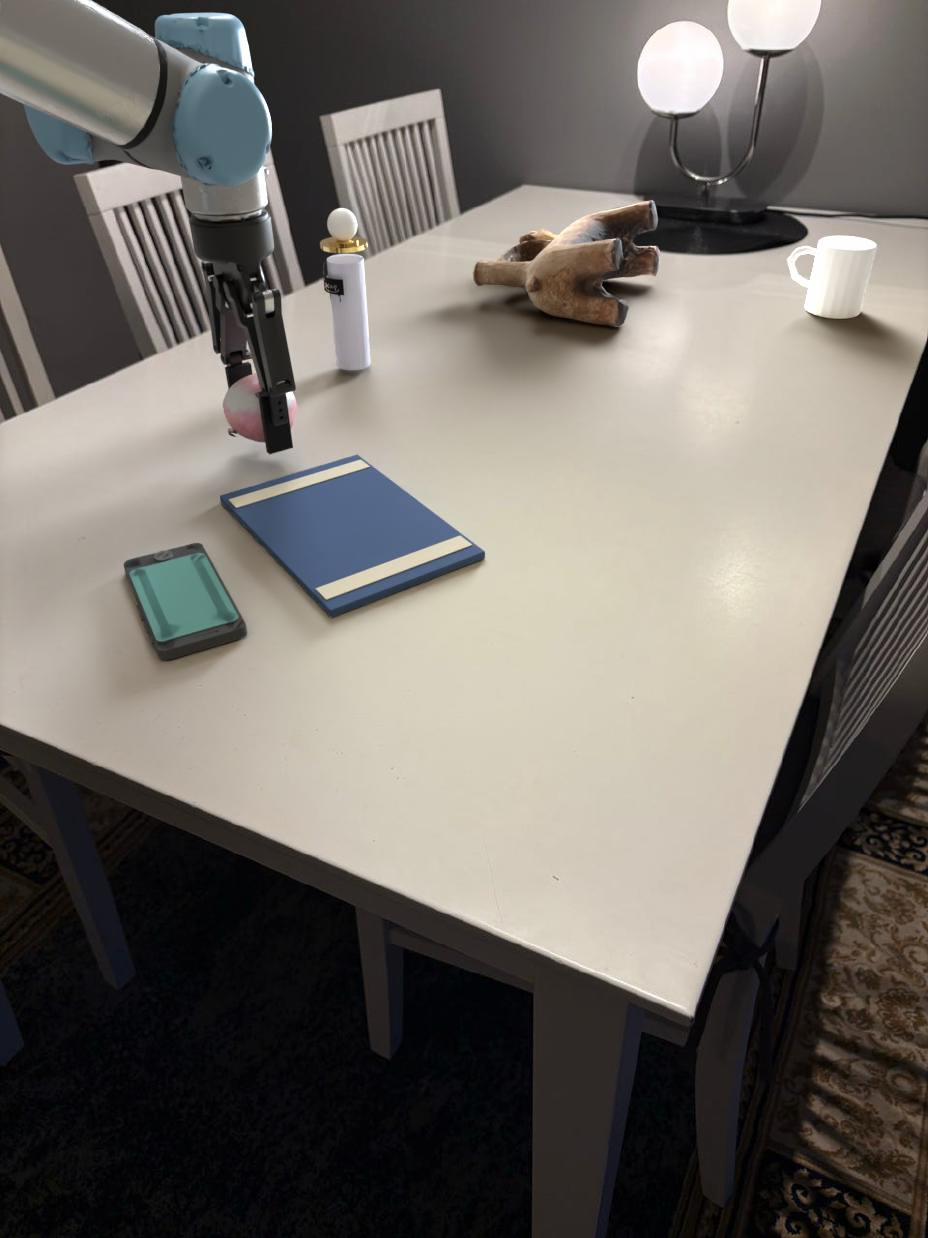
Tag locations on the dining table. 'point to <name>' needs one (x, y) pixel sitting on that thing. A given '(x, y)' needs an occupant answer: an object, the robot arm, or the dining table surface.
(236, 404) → the onion
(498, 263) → the ceramic vessel
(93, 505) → the dining table surface
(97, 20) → the robot arm
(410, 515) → the towel
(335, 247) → the perfume bottle
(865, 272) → the mug
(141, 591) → the smartphone
